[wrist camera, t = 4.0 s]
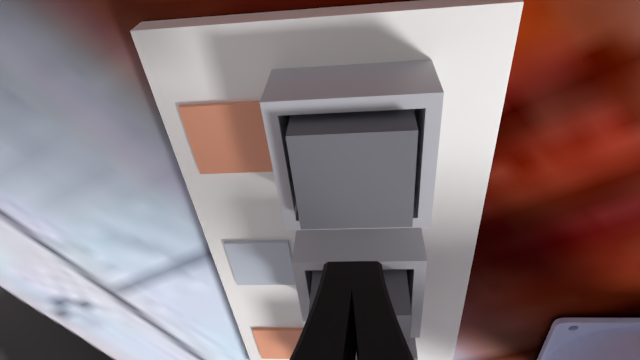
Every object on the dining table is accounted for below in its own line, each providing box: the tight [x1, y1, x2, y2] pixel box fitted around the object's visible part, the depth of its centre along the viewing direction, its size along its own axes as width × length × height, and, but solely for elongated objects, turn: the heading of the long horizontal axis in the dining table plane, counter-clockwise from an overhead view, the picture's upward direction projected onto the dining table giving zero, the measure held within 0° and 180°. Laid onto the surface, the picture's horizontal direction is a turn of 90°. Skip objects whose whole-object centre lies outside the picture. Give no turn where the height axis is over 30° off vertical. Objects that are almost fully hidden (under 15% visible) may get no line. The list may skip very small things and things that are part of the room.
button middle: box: [308, 269, 412, 360], centre depth 19 cm, size 4×4×3 cm
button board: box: [130, 0, 524, 360], centre depth 21 cm, size 13×24×4 cm, turn 5°
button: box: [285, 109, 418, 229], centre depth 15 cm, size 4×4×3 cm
